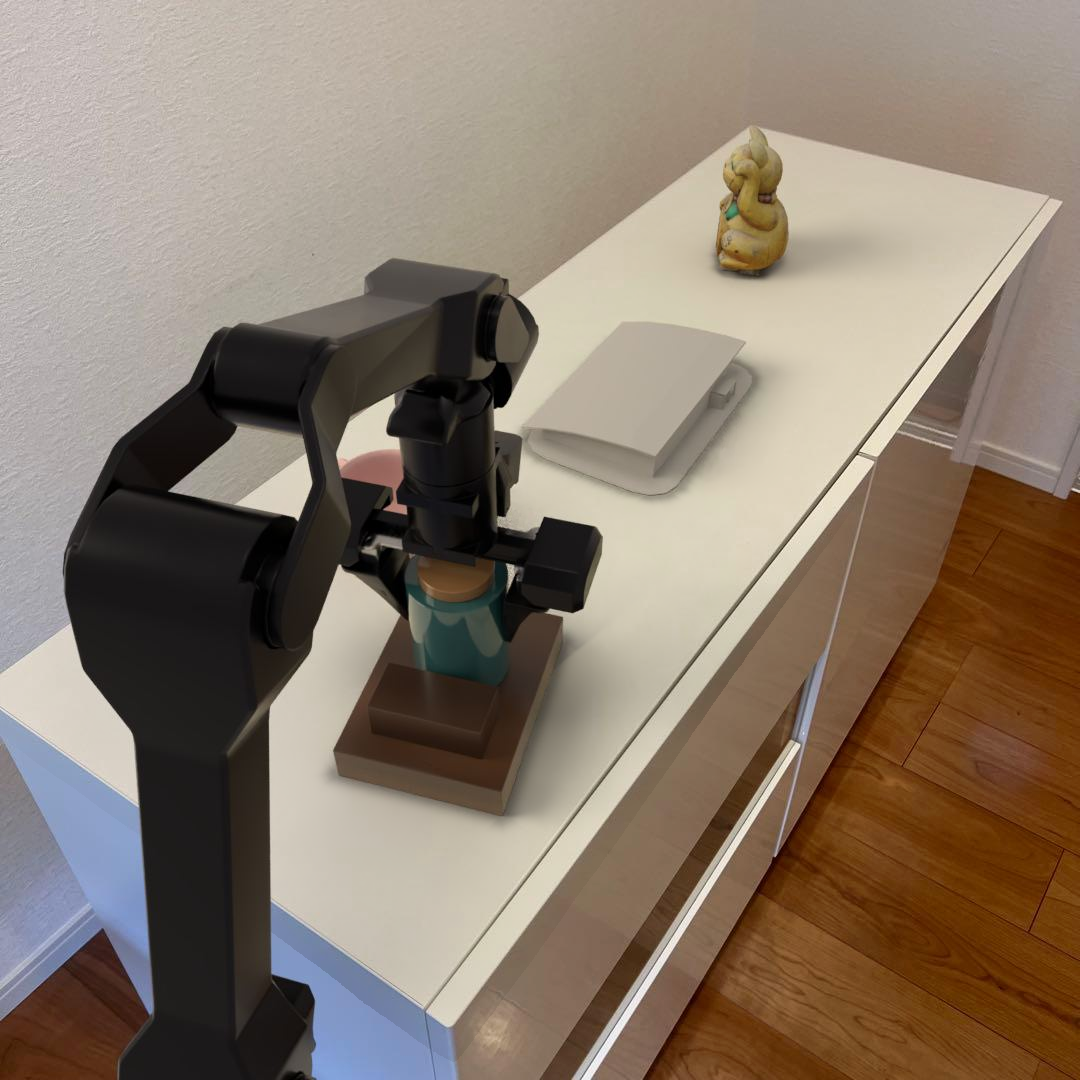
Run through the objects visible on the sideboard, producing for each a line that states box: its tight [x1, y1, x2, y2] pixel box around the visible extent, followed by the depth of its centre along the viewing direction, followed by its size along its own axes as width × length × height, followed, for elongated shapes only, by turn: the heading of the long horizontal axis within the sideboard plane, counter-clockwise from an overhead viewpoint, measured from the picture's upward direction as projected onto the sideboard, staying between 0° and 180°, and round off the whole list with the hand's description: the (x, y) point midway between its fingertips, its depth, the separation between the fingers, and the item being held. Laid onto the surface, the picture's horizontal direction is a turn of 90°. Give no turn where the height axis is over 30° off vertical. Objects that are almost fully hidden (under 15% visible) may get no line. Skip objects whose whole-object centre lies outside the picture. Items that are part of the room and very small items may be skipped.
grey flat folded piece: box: [521, 321, 753, 496], centre depth 104 cm, size 15×23×4 cm, turn 150°
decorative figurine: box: [715, 124, 790, 277], centre depth 120 cm, size 10×8×15 cm
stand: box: [332, 612, 564, 817], centre depth 77 cm, size 16×12×6 cm
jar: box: [404, 555, 510, 686], centre depth 75 cm, size 11×7×11 cm
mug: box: [337, 448, 415, 559], centre depth 91 cm, size 12×10×6 cm
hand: (460, 626), depth 76 cm, fingers closed on jar, 7 cm apart
